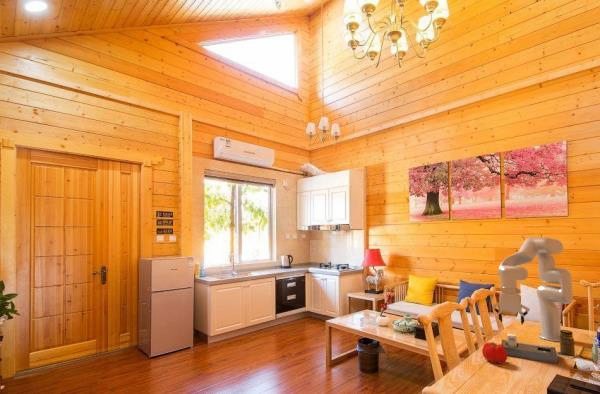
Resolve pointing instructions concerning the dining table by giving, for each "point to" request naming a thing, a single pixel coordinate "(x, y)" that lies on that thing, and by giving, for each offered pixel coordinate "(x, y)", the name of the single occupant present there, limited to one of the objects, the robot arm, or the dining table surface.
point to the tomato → (494, 352)
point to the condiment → (566, 344)
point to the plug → (512, 340)
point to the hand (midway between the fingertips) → (511, 322)
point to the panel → (531, 352)
